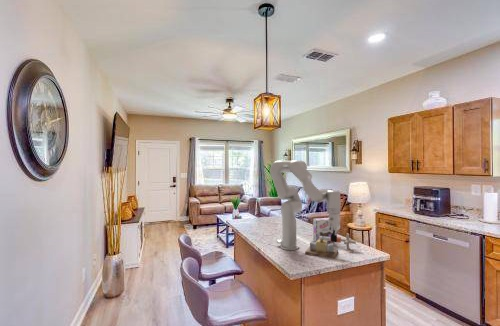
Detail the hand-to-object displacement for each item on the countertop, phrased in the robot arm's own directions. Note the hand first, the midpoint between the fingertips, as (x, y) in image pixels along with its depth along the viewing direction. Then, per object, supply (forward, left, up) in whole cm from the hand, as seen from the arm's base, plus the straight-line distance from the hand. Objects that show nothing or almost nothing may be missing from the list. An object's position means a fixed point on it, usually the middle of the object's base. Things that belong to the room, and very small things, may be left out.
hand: (333, 241), depth 153 cm
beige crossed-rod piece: (+6, +22, -10) cm, 25 cm away
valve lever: (-3, +6, -2) cm, 7 cm away
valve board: (-8, +6, -10) cm, 14 cm away
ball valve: (-8, +6, -9) cm, 13 cm away
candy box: (-12, +33, -10) cm, 36 cm away
